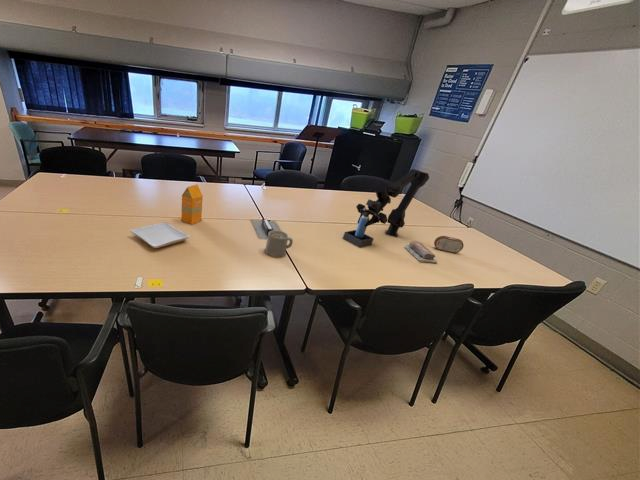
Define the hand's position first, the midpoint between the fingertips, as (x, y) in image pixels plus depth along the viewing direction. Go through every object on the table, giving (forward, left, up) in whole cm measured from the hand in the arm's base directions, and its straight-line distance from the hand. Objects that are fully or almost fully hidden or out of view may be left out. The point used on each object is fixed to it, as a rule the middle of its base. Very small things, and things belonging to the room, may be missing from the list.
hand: (361, 224), depth 177 cm
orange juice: (+34, -90, -11) cm, 97 cm away
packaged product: (-6, +35, -11) cm, 37 cm away
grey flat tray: (+17, -49, -11) cm, 53 cm away
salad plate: (+65, -89, -11) cm, 111 cm away
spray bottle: (-1, +1, -7) cm, 7 cm away
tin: (-24, +50, -11) cm, 57 cm away
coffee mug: (+42, -34, -11) cm, 55 cm away
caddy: (-1, +1, -11) cm, 11 cm away
